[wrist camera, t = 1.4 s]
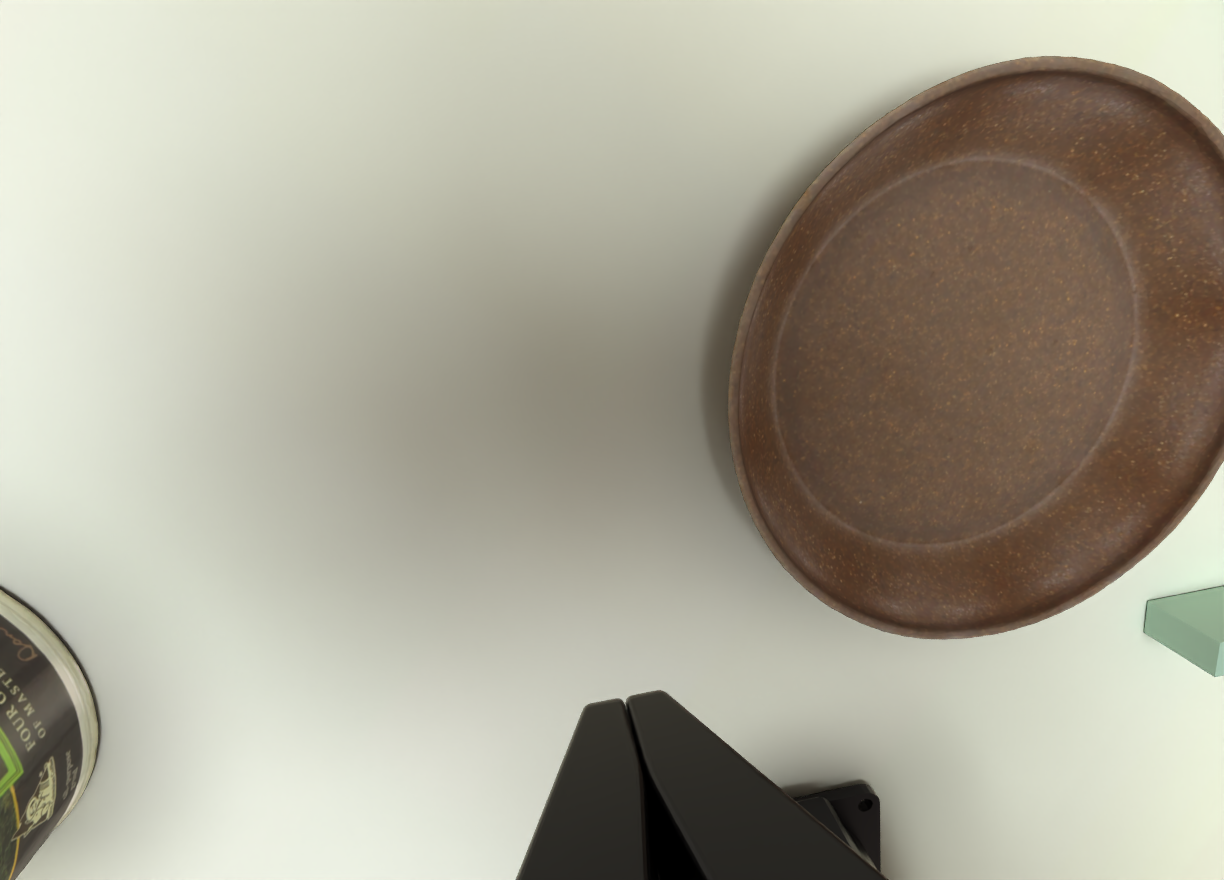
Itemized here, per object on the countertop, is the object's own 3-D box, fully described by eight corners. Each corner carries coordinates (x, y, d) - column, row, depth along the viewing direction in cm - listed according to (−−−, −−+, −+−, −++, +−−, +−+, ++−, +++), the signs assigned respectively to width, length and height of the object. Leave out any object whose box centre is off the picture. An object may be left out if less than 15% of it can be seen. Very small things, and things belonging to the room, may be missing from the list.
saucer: (1249, 404, 22) (1347, 427, 20) (863, 679, 23) (908, 736, 20) (1065, -50, 18) (1160, -97, 15) (592, 315, 18) (606, 329, 16)
